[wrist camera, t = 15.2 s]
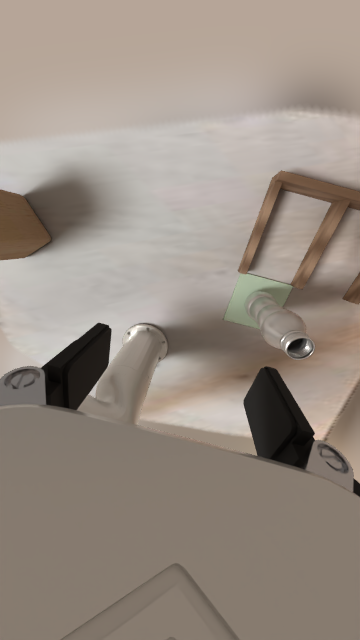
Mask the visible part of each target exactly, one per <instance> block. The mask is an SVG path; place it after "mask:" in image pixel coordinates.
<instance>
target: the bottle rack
mask: <svg viewBox="0 0 360 640" xmlns="http://www.w3.org/2000/svg"><path fill="white" fill-rule="evenodd" d="M280 189H283V190H286V191H290V192H294V193H297V194H301V195H305V196H308V197H312V198H316V199H320V200H323V201H327V202H331V203H332V204H331V206H330V208H329V210H328V212H327V214H326V216H325V218H324V220H323V222H322V224H321V226H320V228H319V230H318V232H317V234H316V235H315V237H314V239H313V241H312V243H311V245H310V247H309V249H308V251H307V253H306V255H305V257H304V259H303V261H302V263H301V265H300V267H299V269H298V271H297V273H296V275H295V277H294V279H293V281H292V283H291V286H293V287H296V288H298V289H302V290H303V288H304V286H305V284H306V282H307V280H308V279H309V277H310V275H311V273H312V271H313V269H314V268H315V266H316V264H317V262H318V260H319V258H320V257H321V255H322V253H323V251H324V249H325V247H326V246H327V244H328V242H329V240H330V238H331V236H332V234H333V233H334V231H335V229H336V227H337V225H338V223H339V222H340V220H341V218H342V216H343V214H344V212H345V211H346V209H347V207H349V208H353V209H356V210H360V192H359V191H355V190H352V189H348V188H344V187H341V186H337V185H333V184H329V183H326V182H322V181H318V180H315V179H311V178H307V177H304V176H300V175H296V174H293V173H289V172H285V171H282V170H281V171H280V172H279V173H278V174H276V175H275V176H274V177H273V178H272V180H271V183H270V185H269V188H268V191H267V194H266V196H265V199H264V202H263V204H262V207H261V210H260V212H259V215H258V218H257V221H256V223H255V226H254V229H253V231H252V234H251V237H250V239H249V242H248V245H247V248H246V250H245V253H244V256H243V258H242V261H241V264H240V266H239V269H238V272H240V273H242V274H245V275H246V274H247V271H248V269H249V266H250V264H251V261H252V259H253V256H254V254H255V251H256V248H257V246H258V243H259V241H260V238H261V236H262V233H263V231H264V228H265V226H266V223H267V221H268V218H269V215H270V213H271V210H272V208H273V205H274V203H275V200H276V198H277V195H278V193H279V190H280ZM343 299H344V300H347V301H349V302H352V303H355V304H359V303H360V273H359V274H358V276H357V278H356V279H355V281H354V282H353V284H352V285H351V287H350V288H349V290H348V291H347V293H346V294H345V296H344V297H343Z"/></svg>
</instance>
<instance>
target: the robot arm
mask: <svg viewBox="0 0 360 640" xmlns="http://www.w3.org/2000/svg"><path fill="white" fill-rule="evenodd" d="M110 341H111V328H109V326H108V325H106V324H102V323H97V324H96V325H95V326H94V327H92V328H91V329H90V330H89V331H88V332H86V333H85V334H84V335H83V336H81V337H80V338H79V339H78V340H76V341H74V342H73V343H71V344H70V345H69V346H68V347H66V348H65V349H64V350H63V351H61V352H60V353H59V354H58V355H56V356H55V357H54V358H53V359H51V360H50V361H49V362H48V363H46V364H45V365H44V366H43V367H42V368H38V367H34V366H27V367H21V368H17V369H14V370H12V371H10V372H8V373H6V374H5V375H4V376H3V377H2V378H1V379H0V640H360V484H359V483H358V482H357V481H356V480H355V479H354V478H353V477H354V475H353V469H352V467H351V465H350V463H349V462H348V461H347V459H346V458H345V457H344V456H343V454H342V453H341V452H340V451H338V450H337V449H336V448H335V447H333V446H332V445H330V444H329V443H327V442H325V441H322V440H316V441H315V439H314V438H313V436H314V434H315V433H314V431H313V429H312V428H311V426H310V424H309V423H308V421H307V419H306V418H305V416H304V414H303V413H302V411H301V409H300V408H299V406H298V404H297V403H296V401H295V399H294V398H293V396H292V394H291V393H290V391H289V389H288V388H287V386H286V384H285V383H284V381H283V379H282V378H281V376H280V374H279V373H278V371H277V370H276V369H274V368H270V367H264V368H261V369H260V371H259V373H258V375H257V377H256V378H255V380H254V382H253V384H252V386H251V388H250V389H249V391H248V393H247V395H246V397H245V399H244V407H245V411H246V415H247V418H248V422H249V426H250V429H251V433H252V437H253V440H254V444H255V448H256V451H257V455H258V456H255V455H252V454H248V453H244V452H240V451H236V450H232V449H229V448H225V447H221V446H217V445H214V444H210V443H205V442H202V441H198V440H194V439H190V438H186V437H182V436H178V435H175V434H170V433H167V432H163V431H159V430H155V429H151V428H147V427H143V426H139V425H138V422H139V418H140V413H141V410H142V406H143V403H144V400H145V397H146V394H147V391H148V388H149V385H150V382H151V379H152V376H153V373H154V371H155V368H156V365H157V363H158V362H160V361H161V360H162V359H163V358H164V357H165V355H166V353H167V349H168V343H167V340H166V337H165V336H164V334H163V333H162V332H161V331H160V330H159V329H157V328H156V327H154V326H151V325H148V324H138V325H134V326H132V327H131V328H129V329H128V330H127V331H126V333H125V334H124V336H123V341H122V344H123V347H122V348H121V350H120V351H119V352H118V354H117V355H116V356H115V358H114V359H113V361H112V362H111V363H110V365H109V366H108V363H109V352H110ZM98 380H99V381H98ZM97 381H98V384H97V388H96V398H94V397H92V396H90V395H88V394H89V392H90V391H91V390H92V388H93V387H94V386H95V384H96V383H97Z"/></svg>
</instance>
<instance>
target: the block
mask: <svg viewBox="0 0 360 640" xmlns="http://www.w3.org/2000/svg"><path fill="white" fill-rule="evenodd" d="M50 241H51V237H50V235H49V234H48V232H47V231H46V229H45V228H44V226H43V225H42V223H41V222H40V220H39V219H38V217H37V216H36V214H35V213H34V211H33V210H32V208H31V207H30V205H29V204H28V202H27V200H26V199H25V198H24V197H23V196H21V195H19V194H15V193H12V192H8V191H4V190H0V260H8V259H19V258H25V257H27V256H28V255H30V254H31V253H33V252H35V251H36V250H38V249H39V248H41V247H42V246H44V245H45V244H47V243H48V242H50Z"/></svg>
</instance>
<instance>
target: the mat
mask: <svg viewBox="0 0 360 640" xmlns="http://www.w3.org/2000/svg"><path fill="white" fill-rule="evenodd" d="M292 288H293V286H291V285H289V284H285V283H281V282H277V281H273V280H270V279H266V278H262V277H258V276H255V275H251V274H246V275H245V274H242V273H241V274H240V277H239V279H238V282H237V284H236V287H235V290H234V292H233V295H232V298H231V300H230V303H229V306H228V308H227V311H226V313H225V316H224V319H223V320H226V321H230V322H234V323H238V324H242V325H245V326H249V327H253V328H257V329H260V328H259V326H258V324H257V322H256V321H255V320H253V319H252V318H251V317H249V316H248V314H247V313H246V311H245V301H246V299H247V297H248V296H249V295H250V294H252V293H254V292H257V291H263V292H267V293H269V294H271V295H272V296H273V297H274V298H275V300H276V302H277V303H278V304H279V305H280V306H281V307H283V305H284V303H285V301H286V300H287V298H288V296H289V294H290V292H291V290H292Z"/></svg>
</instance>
